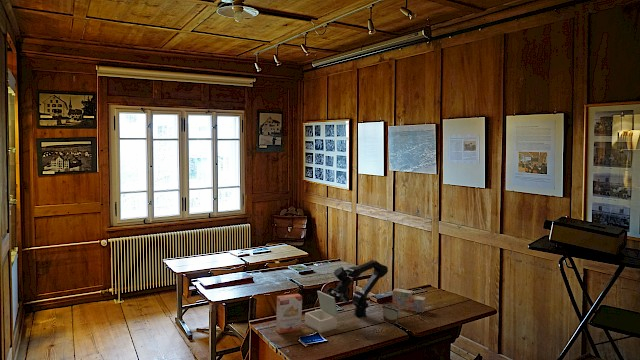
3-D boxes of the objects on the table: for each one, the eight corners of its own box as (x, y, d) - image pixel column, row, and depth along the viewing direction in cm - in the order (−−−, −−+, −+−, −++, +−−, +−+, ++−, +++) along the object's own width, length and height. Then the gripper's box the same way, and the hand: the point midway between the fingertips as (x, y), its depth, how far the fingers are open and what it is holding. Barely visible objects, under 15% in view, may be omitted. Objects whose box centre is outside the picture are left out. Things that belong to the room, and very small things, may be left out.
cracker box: (279, 334, 262) (280, 298, 261) (275, 330, 268) (276, 295, 266) (301, 330, 268) (302, 295, 267) (297, 327, 274) (298, 292, 273)
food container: (403, 323, 283) (404, 307, 283) (398, 325, 279) (398, 309, 278) (387, 317, 292) (387, 302, 291) (381, 320, 287) (381, 304, 287)
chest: (320, 320, 286) (320, 309, 285) (336, 328, 273) (336, 317, 272) (304, 324, 279) (305, 312, 278) (320, 332, 266) (320, 321, 265)
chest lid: (320, 309, 285) (322, 308, 286) (337, 317, 272) (338, 316, 273) (317, 291, 283) (318, 290, 283) (333, 298, 269) (334, 297, 270)
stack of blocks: (425, 311, 306) (426, 293, 305) (422, 313, 301) (423, 295, 300) (395, 305, 317) (395, 287, 316) (392, 307, 311) (392, 290, 310)
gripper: (360, 296, 280) (345, 317, 275) (341, 288, 296) (327, 308, 290) (350, 286, 275) (335, 307, 270) (332, 278, 290) (317, 298, 285)
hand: (329, 305), depth 279 cm, fingers closed
